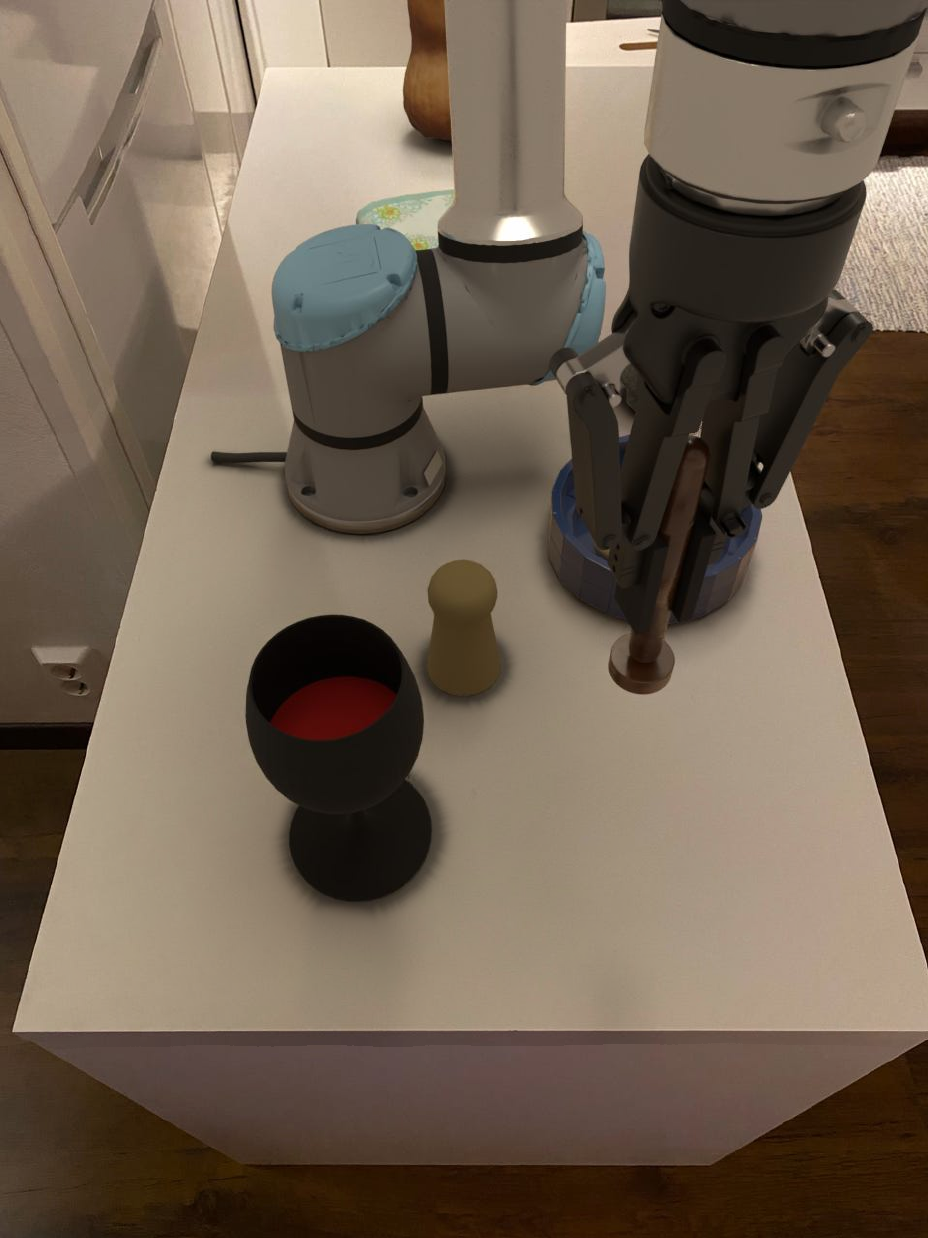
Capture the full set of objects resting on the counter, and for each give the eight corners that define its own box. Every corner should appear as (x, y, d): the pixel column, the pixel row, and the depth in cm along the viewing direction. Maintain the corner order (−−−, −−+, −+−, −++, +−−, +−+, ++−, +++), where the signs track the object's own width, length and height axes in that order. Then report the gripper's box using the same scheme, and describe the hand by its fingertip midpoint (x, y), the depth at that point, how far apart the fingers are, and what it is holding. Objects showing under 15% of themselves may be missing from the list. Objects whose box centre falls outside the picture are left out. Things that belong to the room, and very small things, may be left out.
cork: (458, 624, 80) (456, 534, 72) (515, 661, 78) (520, 572, 69) (411, 669, 77) (403, 582, 69) (469, 709, 75) (467, 623, 66)
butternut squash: (449, 170, 129) (444, -45, 109) (386, 136, 135) (371, -73, 115) (522, 137, 134) (530, -74, 115) (458, 106, 140) (456, -99, 121)
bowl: (550, 626, 80) (555, 580, 75) (545, 481, 91) (549, 433, 86) (760, 629, 79) (778, 583, 75) (730, 483, 90) (744, 435, 86)
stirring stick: (610, 694, 53) (654, 468, 40) (606, 643, 55) (646, 412, 42) (674, 695, 53) (741, 469, 40) (668, 644, 55) (728, 413, 42)
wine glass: (432, 767, 72) (419, 599, 56) (433, 900, 65) (420, 753, 50) (294, 771, 72) (243, 605, 56) (282, 905, 65) (221, 760, 49)
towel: (573, 281, 112) (577, 240, 108) (403, 321, 107) (401, 281, 103) (512, 207, 122) (513, 168, 118) (355, 242, 118) (350, 202, 114)
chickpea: (583, 548, 84) (594, 547, 81) (601, 520, 84) (613, 518, 81) (609, 567, 84) (622, 567, 82) (627, 539, 85) (640, 538, 82)
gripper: (595, 261, 28) (548, 703, 46) (1017, 177, 31) (814, 625, 49) (507, 147, 32) (496, 592, 51) (882, 83, 35) (743, 526, 54)
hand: (652, 608), depth 50 cm, fingers closed on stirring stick, 2 cm apart
